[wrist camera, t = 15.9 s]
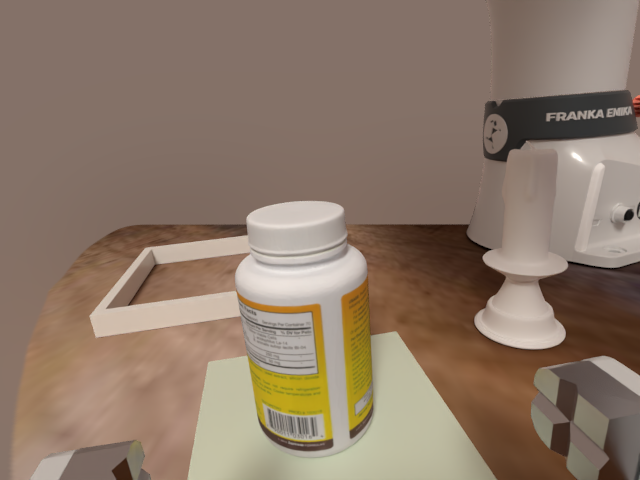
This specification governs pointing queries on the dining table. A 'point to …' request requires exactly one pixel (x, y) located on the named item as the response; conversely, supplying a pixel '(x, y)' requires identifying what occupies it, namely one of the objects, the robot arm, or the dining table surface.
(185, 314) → the white square frame
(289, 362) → the supplement bottle
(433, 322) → the dining table surface
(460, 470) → the mat
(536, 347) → the candle
